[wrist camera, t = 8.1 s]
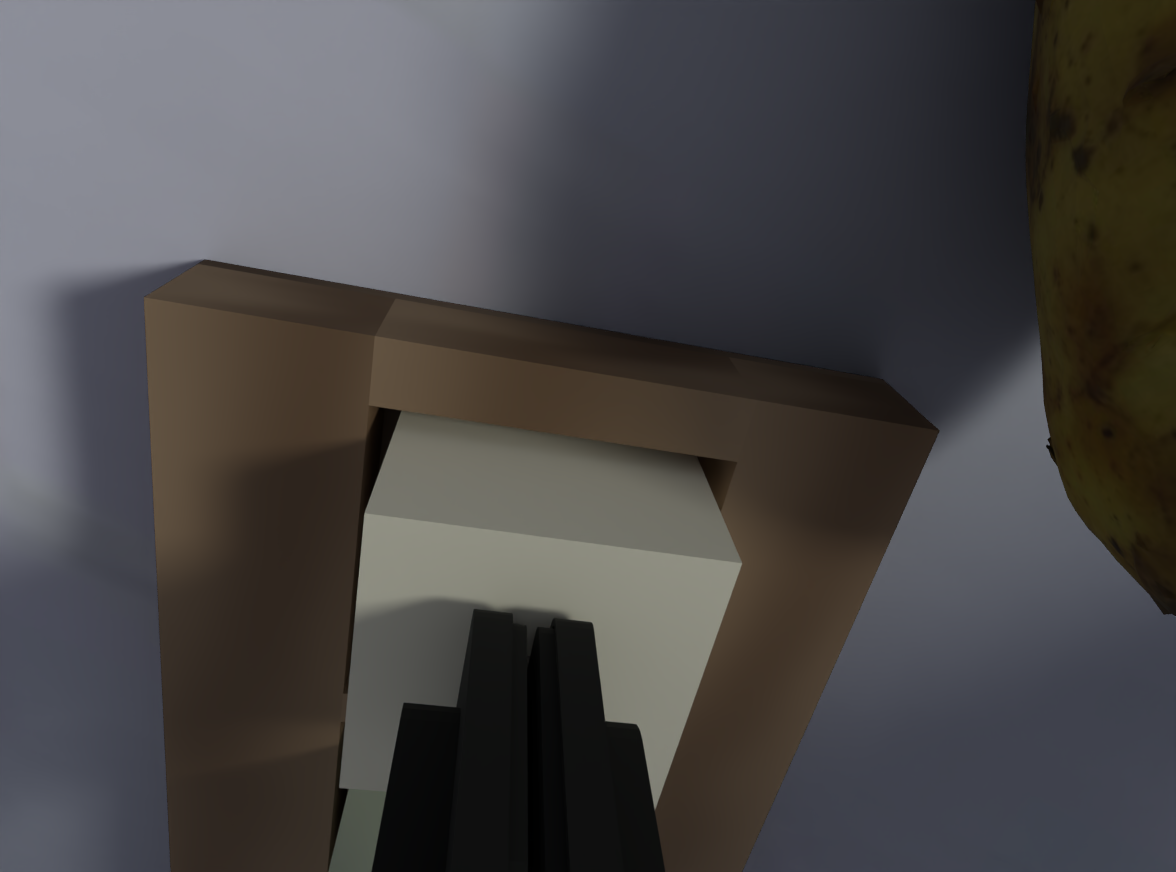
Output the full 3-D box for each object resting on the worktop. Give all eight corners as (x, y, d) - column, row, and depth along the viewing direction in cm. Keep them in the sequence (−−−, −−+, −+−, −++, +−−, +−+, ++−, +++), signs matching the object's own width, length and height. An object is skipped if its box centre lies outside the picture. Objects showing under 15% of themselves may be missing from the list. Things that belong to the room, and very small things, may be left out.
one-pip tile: (687, 433, 14) (746, 572, 10) (626, 644, 16) (655, 823, 12) (409, 388, 13) (361, 521, 9) (383, 616, 15) (335, 799, 11)
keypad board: (882, 379, 14) (939, 430, 12) (629, 1013, 23) (639, 1102, 21) (204, 259, 12) (143, 297, 10) (213, 997, 21) (180, 1093, 19)
